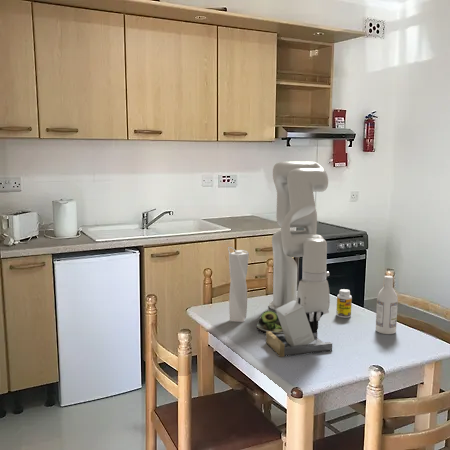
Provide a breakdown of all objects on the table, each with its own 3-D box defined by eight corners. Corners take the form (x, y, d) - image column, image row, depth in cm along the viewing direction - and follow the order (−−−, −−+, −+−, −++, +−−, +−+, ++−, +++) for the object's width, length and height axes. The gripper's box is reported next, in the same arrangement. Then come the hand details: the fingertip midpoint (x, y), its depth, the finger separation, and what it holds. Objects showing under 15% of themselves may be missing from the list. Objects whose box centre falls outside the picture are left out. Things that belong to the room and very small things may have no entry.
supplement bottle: (337, 318, 192) (338, 292, 191) (335, 313, 198) (336, 288, 196) (351, 318, 191) (353, 292, 190) (350, 314, 197) (351, 288, 195)
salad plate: (312, 322, 188) (312, 310, 188) (310, 339, 171) (310, 326, 170) (261, 318, 192) (261, 306, 192) (254, 334, 175) (254, 322, 174)
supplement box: (315, 340, 160) (304, 306, 157) (295, 350, 159) (283, 316, 156) (305, 332, 167) (294, 299, 164) (286, 341, 166) (274, 308, 163)
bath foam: (396, 329, 180) (399, 275, 177) (395, 335, 174) (399, 279, 171) (376, 327, 182) (378, 273, 180) (374, 333, 176) (377, 278, 173)
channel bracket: (265, 342, 167) (266, 331, 166) (315, 337, 172) (315, 326, 171) (279, 357, 155) (280, 344, 155) (332, 351, 160) (332, 339, 160)
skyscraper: (225, 321, 187) (226, 248, 183) (228, 315, 194) (229, 244, 190) (246, 323, 186) (247, 248, 181) (248, 316, 193) (249, 245, 189)
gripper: (329, 272, 166) (327, 326, 169) (287, 275, 162) (286, 330, 164) (340, 277, 159) (339, 333, 162) (298, 280, 155) (296, 338, 157)
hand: (312, 331), depth 163 cm, fingers closed
